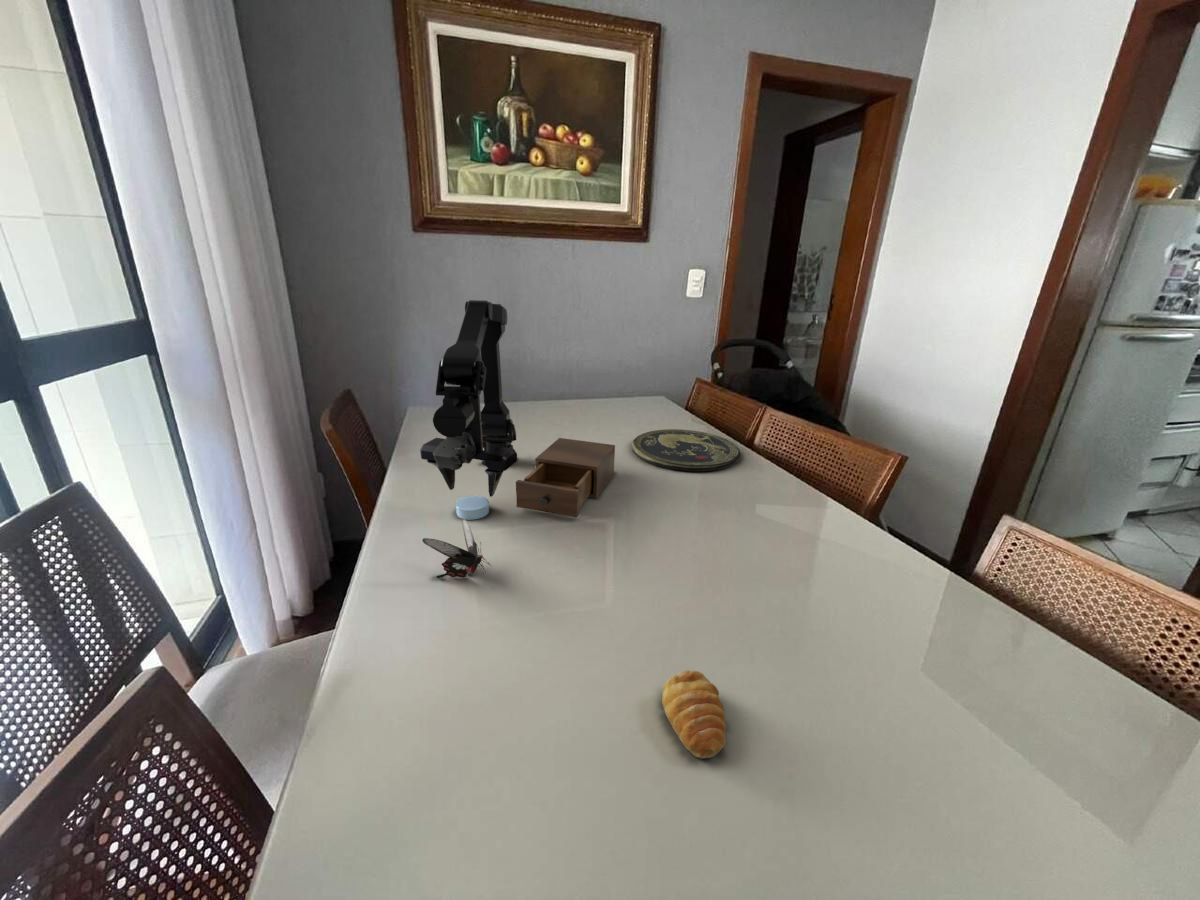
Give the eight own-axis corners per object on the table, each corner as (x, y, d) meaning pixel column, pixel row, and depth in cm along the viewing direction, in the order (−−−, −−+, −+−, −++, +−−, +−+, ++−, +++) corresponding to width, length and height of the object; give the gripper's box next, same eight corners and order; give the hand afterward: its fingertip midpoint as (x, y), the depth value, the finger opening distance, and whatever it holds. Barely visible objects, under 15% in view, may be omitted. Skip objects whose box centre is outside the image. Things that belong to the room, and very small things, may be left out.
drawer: (575, 520, 97) (575, 494, 95) (514, 509, 101) (513, 484, 98) (597, 490, 110) (597, 466, 108) (542, 481, 114) (542, 458, 112)
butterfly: (447, 598, 81) (416, 547, 82) (490, 570, 86) (460, 522, 86) (455, 593, 72) (420, 536, 73) (503, 562, 76) (469, 508, 77)
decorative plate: (750, 469, 121) (630, 461, 123) (749, 476, 122) (629, 468, 124) (731, 431, 149) (633, 425, 151) (730, 437, 150) (633, 431, 152)
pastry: (740, 758, 52) (744, 733, 51) (679, 767, 51) (682, 741, 50) (708, 687, 61) (712, 663, 59) (656, 693, 60) (658, 669, 58)
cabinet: (596, 498, 108) (597, 467, 105) (536, 488, 112) (535, 458, 109) (614, 473, 121) (615, 445, 119) (559, 465, 125) (559, 437, 122)
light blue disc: (450, 516, 99) (449, 507, 98) (467, 502, 105) (466, 493, 104) (478, 522, 97) (478, 512, 96) (495, 507, 103) (494, 498, 102)
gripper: (397, 426, 89) (407, 502, 95) (488, 439, 84) (493, 518, 90) (433, 410, 99) (440, 479, 105) (517, 420, 94) (519, 493, 100)
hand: (471, 492), depth 99 cm, fingers open, 9 cm apart
